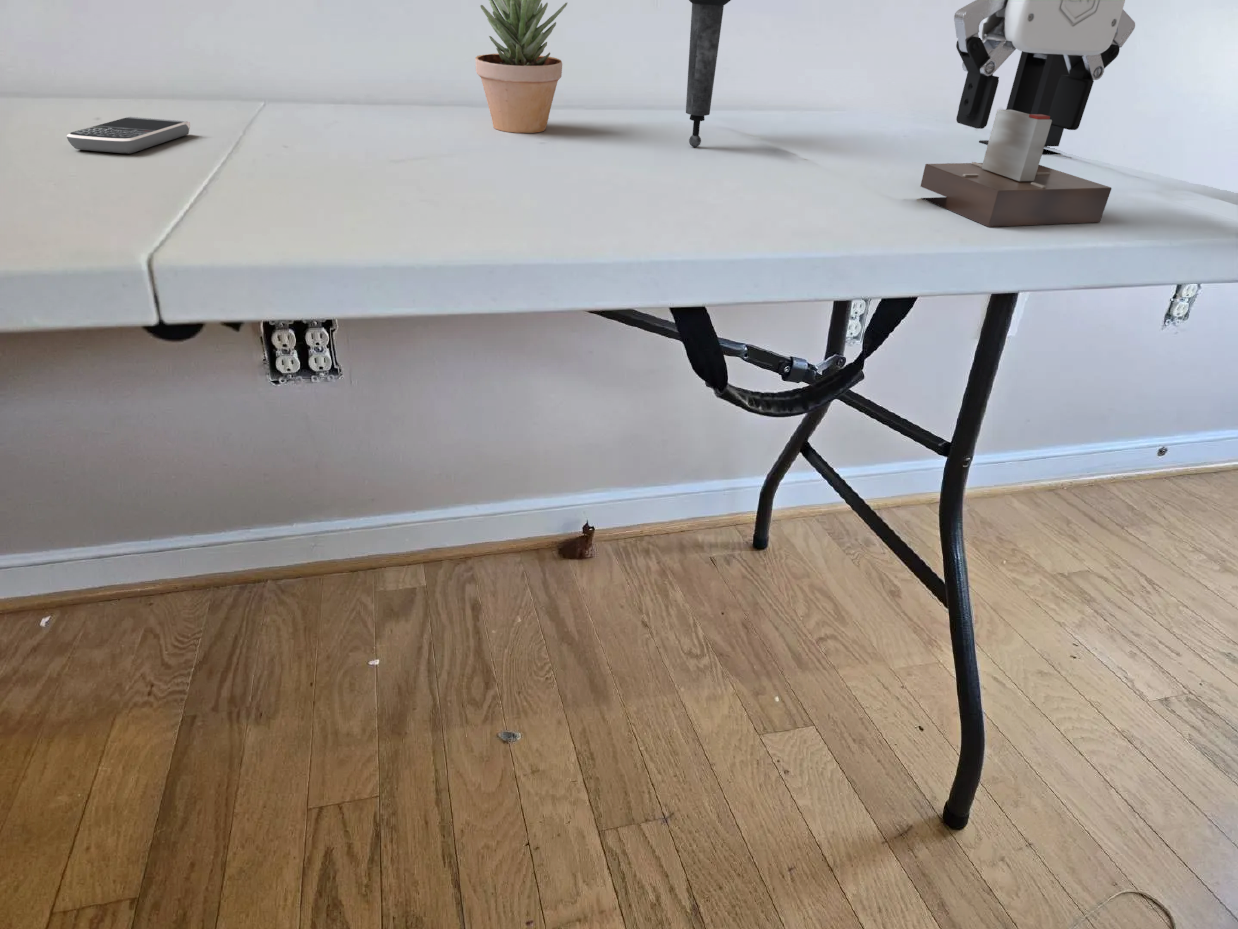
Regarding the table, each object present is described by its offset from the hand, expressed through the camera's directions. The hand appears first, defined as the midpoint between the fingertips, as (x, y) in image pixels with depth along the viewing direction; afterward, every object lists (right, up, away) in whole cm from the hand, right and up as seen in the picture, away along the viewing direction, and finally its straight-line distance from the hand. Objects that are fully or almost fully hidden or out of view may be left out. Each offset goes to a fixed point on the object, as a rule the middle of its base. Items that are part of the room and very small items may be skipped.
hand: (1016, 126), depth 73 cm
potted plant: (-45, +9, +25) cm, 53 cm away
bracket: (+13, +7, +27) cm, 31 cm away
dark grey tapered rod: (-26, +6, +21) cm, 34 cm away
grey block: (0, -3, +2) cm, 4 cm away
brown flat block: (+1, -6, +4) cm, 7 cm away
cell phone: (-80, +1, +8) cm, 81 cm away
